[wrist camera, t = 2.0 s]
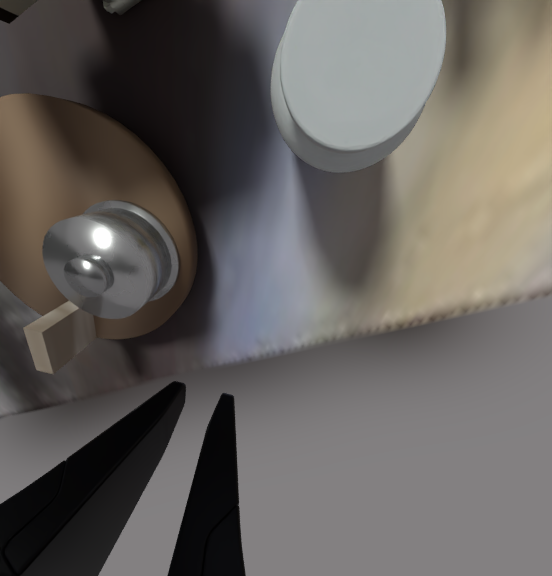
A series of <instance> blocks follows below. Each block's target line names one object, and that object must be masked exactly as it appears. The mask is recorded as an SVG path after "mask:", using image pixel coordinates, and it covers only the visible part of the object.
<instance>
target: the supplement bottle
mask: <svg viewBox="0 0 552 576" xmlns="http://www.w3.org/2000/svg"><path fill="white" fill-rule="evenodd" d="M445 46H446V20H445V13H444V7H443V4H442V1H441V0H298V1H297V3H296V5H295V7H294V9H293V11H292V13H291V15H290V18H289V20H288V23H287V26H286V29H285V32H284V35H283V37H282V39H281V41H280V44H279V46H278V49H277V52H276V55H275V59H274V63H273V68H272V76H271V103H272V109H273V114H274V117H275V121H276V124H277V126H278V129H279V131H280V133H281V135H282V137H283V139H284V141H285V142H286V144H287V145H288V146H289V148H290V149H291V150H292V151H293V152H294V153H295V154H296V155H297V156H298V157H299V158H300V159H301V160H303V161H304V162H306V163H307V164H309V165H311V166H313V167H315V168H317V169H320V170H323V171H328V172H335V173H346V172H353V171H358V170H361V169H364V168H367V167H369V166H372V165H374V164H375V163H377V162H379V161H381V160H382V159H384V158H385V157H387V156H388V155H389V154H391V153H392V152H393V151H394V150H395V149H396V148H397V147H398V146H399V145H400V144H401V143H402V142H403V141H404V140H405V138H406V137H407V136H408V135H409V133H410V132H411V130H412V129H413V128H414V126H415V124H416V122H417V121H418V119H419V117H420V115H421V113H422V111H423V108H424V106H425V103H426V101H427V100H428V98H429V96H430V95H431V93H432V91H433V89H434V87H435V84H436V81H437V79H438V76H439V73H440V70H441V67H442V63H443V59H444V53H445Z"/></svg>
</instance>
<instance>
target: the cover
mask: <svg viewBox="0 0 552 576" xmlns="http://www.w3.org/2000/svg"><path fill="white" fill-rule="evenodd" d="M42 254H43V260H44V264H45V267H46V270H47V272H48V274H49V276H50V278H51V280H52V281H53V283H54V284H55V286H56V287H57V288H58V290H59V291H60V292H61V293H62V294H63V295H64V296H65V297H66V298H67V299H68V300H69V301H70V302H72V303H73V304H74V305H76V306H77V307H79V308H80V309H82V310H84V311H86V312H88V313H90V314H92V315H95V316H98V317H101V318H107V319H121V318H125V317H128V316H131V315H132V314H134V313H135V312H137V311H138V310H139V309H140V308H141V307H142V306H144V305H145V304H146V303H147V302H149V301H153V300H156V299H159V298H161V297H162V296H164V295H165V294H166V293H168V292H169V291H170V290H171V289H172V287H173V286H174V285H175V283H176V281H177V279H178V277H179V272H180V256H179V251H178V248H177V245H176V243H175V240H174V238H173V236H172V235H171V233H170V231H169V230H168V229H167V227H166V226H165V225H164V224H163V223H162V222H161V220H160V219H158V218H157V217H156V216H155V215H154V214H153V213H151V212H150V211H148V210H147V209H145V208H143V207H142V206H140V205H137V204H135V203H132V202H129V201H124V200H108V201H103V202H99V203H96V204H94V205H92V206H91V207H89V208H88V209H87V210H86V211H85V212H84V213H83V214H82V215H79V216H75V217H72V218H68V219H64V220H61V221H59V222H57V223H55V224H54V225H53V226H52V227H51V228H50V229H49V230H48V231H47V233H46V235H45V237H44V241H43V247H42Z"/></svg>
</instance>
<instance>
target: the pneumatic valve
mask: <svg viewBox="0 0 552 576" xmlns="http://www.w3.org/2000/svg"><path fill="white" fill-rule="evenodd" d="M36 1H37V0H0V20H2V21H4V22H6V23H9V24H10V23H11V22H12V21H13V20H15V19H16V18H17V17H18V16H19V15H21V14H22V13H23V12H24V11H25V10H27V9H28V8H29V7H30V6H31V5H33V4H34V3H35V2H36ZM140 1H141V0H103V6H104V8H105V10H106V11H108V12H110V13H111V14H112V13H113V12H117V13H118V14H119V15H122V14H123V13H125V12H126V11H127V10H129V9H130V8H131V7H133V6H134V5H136V4H137V3H138V2H140Z"/></svg>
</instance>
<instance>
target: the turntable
mask: <svg viewBox="0 0 552 576" xmlns="http://www.w3.org/2000/svg"><path fill="white" fill-rule="evenodd" d="M108 200H124V201H129V202H132V203H135V204H137V205H140V206H142V207H143V208H145V209H147V210H148V211H150V212H151V213H153V214H154V215H155V216H156V217H157V218H158V219H160V220H161V222H162V223H163V224H164V225H165V226H166V227H167V229H168V230H169V231H170V233H171V235H172V236H173V238H174V240H175V243H176V245H177V248H178V251H179V256H180V272H179V277H178V279H177V281H176V283H175V285H174V286H173V287H172V289H171V290H170V291H169V292H168V293H166V294H165V295H164V296H162V297H161V298H159V299H156V300H153V301H149V302H147V303H146V304H145V305H144V306H142V307H141V308H140V309H139V310H138V311H137V312H135V313H134V314H132V315H131V316H128V317H125V318H121V319H107V318H101V317H98V316H95V315H92V314H90V313H88V312H86V311H84V310H82V309H80V308H79V307H77V306H76V305H74V304H73V303H72V302H70V301H69V300H68V299H67V298H66V297H65V296H64V295H63V294H62V293H61V292H60V291H59V290H58V288H57V287H56V286H55V284H54V283H53V281H52V280H51V278H50V276H49V274H48V272H47V270H46V267H45V264H44V260H43V254H42V247H43V241H44V237H45V235H46V233H47V231H48V230H49V229H50V228H51V227H52V226H53V225H54V224H55V223H57V222H59V221H61V220H64V219H68V218H72V217H75V216H79V215H82V214H83V213H84V212H85V211H86V210H87V209H88V208H89V207H91V206H92V205H94V204H96V203H99V202H103V201H108ZM197 261H198V252H197V239H196V233H195V228H194V224H193V221H192V217H191V213H190V211H189V208H188V206H187V203H186V201H185V199H184V196H183V194H182V193H181V191H180V189H179V187H178V185H177V183H176V181H175V180H174V178H173V177H172V175H171V174H170V172H169V171H168V170H167V168H166V167H165V165H164V164H163V163H162V162H161V160H160V159H159V158H158V157H157V156H156V154H155V153H154V152H153V151H152V150H151V149H150V148H149V147H148V146H147V145H146V144H145V143H144V142H143V141H142V140H141V139H140V138H139V137H138V136H137V135H135V134H134V133H133V132H132V131H130V130H129V129H128V128H126V127H125V126H124V125H122V124H121V123H120V122H118V121H116V120H115V119H113V118H111V117H110V116H108V115H106V114H104V113H103V112H100V111H98V110H96V109H93V108H91V107H89V106H87V105H83V104H80V103H76V102H73V101H69V100H65V99H60V98H55V97H51V96H45V95H37V94H29V93H27V94H10V95H6V96H2V97H0V281H1V282H2V283H3V284H4V285H5V286H6V287H7V288H8V289H9V290H10V291H11V292H12V293H13V294H14V295H15V296H17V297H18V298H19V299H20V300H21V301H23V302H24V303H25V304H26V305H28V306H29V307H30V308H32V309H33V310H35V311H36V312H37V313H39V314H40V315H42V316H43V317H41V318H39V319H38V320H36V321H34V322H33V323H31V324H29V325H28V326H26V327H24V328H23V329H24V332H25V336H26V339H27V342H28V345H29V348H30V351H31V354H32V358H33V361H34V364H35V367H36V370H38V371H42V372H46V373H50V374H54V373H56V372H57V371H58V370H59V369H60V368H62V367H63V366H64V365H65V364H66V363H67V362H69V361H70V360H71V359H72V358H73V357H75V356H76V355H77V354H78V353H79V352H81V351H82V350H83V349H84V348H85V347H86V346H88V345H89V344H90V343H91V342H92V341H94V340H95V339H96V338H104V339H127V338H133V337H138V336H141V335H144V334H147V333H149V332H151V331H153V330H155V329H157V328H158V327H160V326H161V325H162V324H164V323H165V322H166V321H167V320H168V319H169V318H170V317H171V316H172V315H173V314H174V313H175V312H176V310H177V309H178V308H179V307H180V306H181V305H182V303H183V302H184V300H185V299H186V297H187V296H188V294H189V292H190V290H191V288H192V285H193V282H194V278H195V275H196V269H197Z"/></svg>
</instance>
